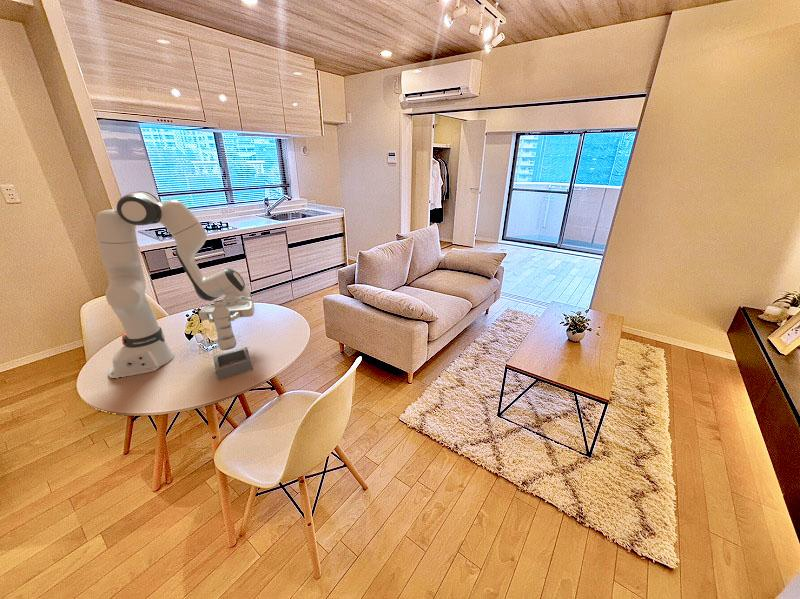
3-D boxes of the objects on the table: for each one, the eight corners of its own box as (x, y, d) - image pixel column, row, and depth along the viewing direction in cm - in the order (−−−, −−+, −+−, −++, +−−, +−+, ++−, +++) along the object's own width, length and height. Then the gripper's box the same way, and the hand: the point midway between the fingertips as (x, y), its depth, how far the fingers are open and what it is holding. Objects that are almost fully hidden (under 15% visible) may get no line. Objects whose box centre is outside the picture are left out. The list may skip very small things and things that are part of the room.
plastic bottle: (230, 352, 125) (220, 304, 119) (215, 351, 126) (204, 303, 120) (240, 345, 131) (232, 299, 125) (226, 344, 132) (216, 298, 126)
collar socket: (218, 380, 126) (215, 370, 124) (215, 364, 135) (213, 356, 133) (253, 369, 132) (251, 360, 130) (248, 355, 141) (246, 346, 140)
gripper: (204, 300, 134) (190, 314, 121) (255, 297, 137) (247, 311, 124) (208, 313, 136) (194, 329, 124) (258, 310, 139) (250, 325, 127)
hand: (221, 320), depth 124 cm, fingers closed on plastic bottle, 6 cm apart
